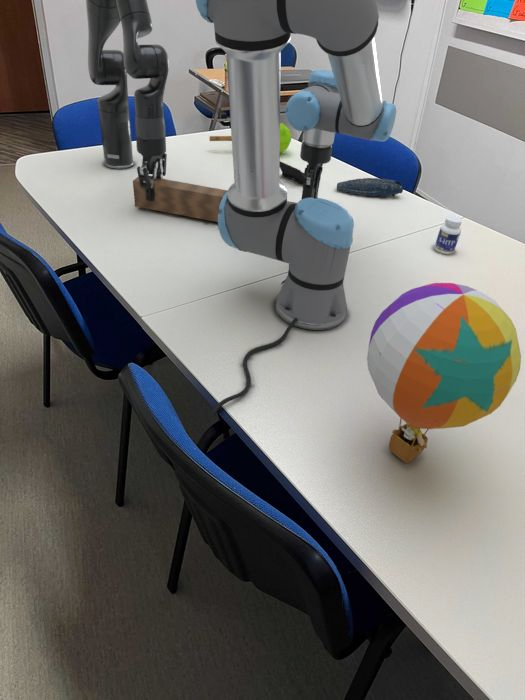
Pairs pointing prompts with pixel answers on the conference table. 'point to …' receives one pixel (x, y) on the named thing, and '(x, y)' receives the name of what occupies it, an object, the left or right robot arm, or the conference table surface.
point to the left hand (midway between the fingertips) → (154, 196)
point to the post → (181, 198)
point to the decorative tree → (284, 137)
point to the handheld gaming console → (292, 172)
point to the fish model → (371, 187)
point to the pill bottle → (448, 235)
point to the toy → (441, 360)
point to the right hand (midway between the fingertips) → (304, 232)
